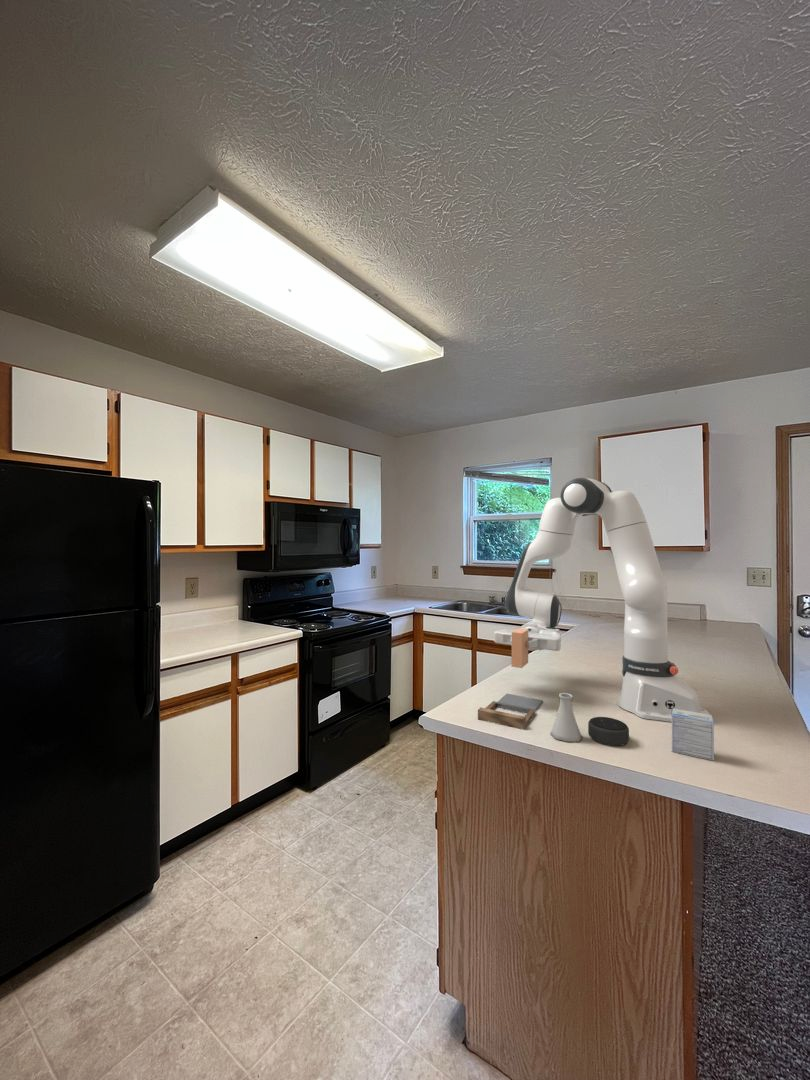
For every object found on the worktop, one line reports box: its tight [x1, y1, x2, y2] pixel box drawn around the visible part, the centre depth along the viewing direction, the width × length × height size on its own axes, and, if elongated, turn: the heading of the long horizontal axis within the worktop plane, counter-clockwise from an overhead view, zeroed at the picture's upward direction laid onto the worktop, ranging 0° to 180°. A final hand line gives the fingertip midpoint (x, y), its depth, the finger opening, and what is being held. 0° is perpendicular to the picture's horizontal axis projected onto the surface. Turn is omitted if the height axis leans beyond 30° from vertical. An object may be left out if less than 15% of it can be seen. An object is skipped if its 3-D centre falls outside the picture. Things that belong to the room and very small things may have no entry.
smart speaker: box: [587, 716, 630, 747], centre depth 105 cm, size 9×9×4 cm
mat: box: [497, 693, 544, 711], centre depth 129 cm, size 11×9×1 cm
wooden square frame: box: [477, 700, 537, 730], centre depth 118 cm, size 12×12×2 cm
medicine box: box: [671, 709, 715, 761], centre depth 98 cm, size 8×4×9 cm, turn 58°
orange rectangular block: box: [510, 628, 529, 669], centre depth 129 cm, size 3×7×10 cm, turn 149°
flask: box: [550, 692, 583, 743], centre depth 106 cm, size 7×7×10 cm
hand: (520, 644), depth 129 cm, fingers closed on orange rectangular block, 3 cm apart
